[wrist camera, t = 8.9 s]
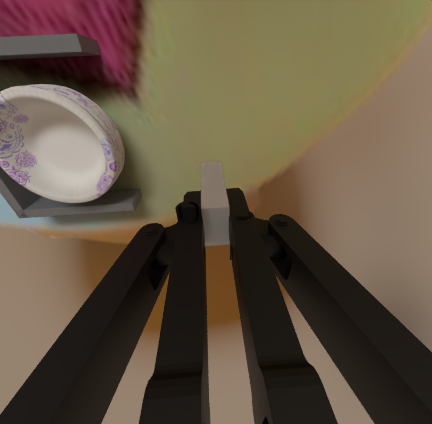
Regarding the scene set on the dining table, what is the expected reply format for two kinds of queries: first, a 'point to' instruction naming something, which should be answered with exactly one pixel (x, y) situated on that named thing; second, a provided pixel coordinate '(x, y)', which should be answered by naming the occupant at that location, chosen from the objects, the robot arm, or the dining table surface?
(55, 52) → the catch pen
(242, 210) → the robot arm
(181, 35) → the dining table surface
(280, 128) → the dining table surface
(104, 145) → the paper bowls
